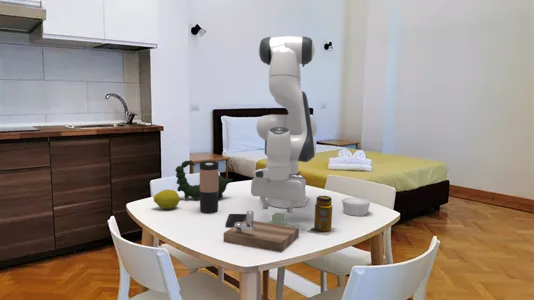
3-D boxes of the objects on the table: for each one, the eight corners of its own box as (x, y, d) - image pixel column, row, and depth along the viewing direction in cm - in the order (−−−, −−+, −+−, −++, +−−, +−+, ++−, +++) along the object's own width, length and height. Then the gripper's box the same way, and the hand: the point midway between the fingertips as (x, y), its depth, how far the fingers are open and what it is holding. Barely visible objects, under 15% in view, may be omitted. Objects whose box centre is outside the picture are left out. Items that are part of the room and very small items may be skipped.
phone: (248, 214, 164) (246, 225, 149) (248, 216, 164) (246, 229, 149) (228, 213, 164) (224, 225, 149) (228, 216, 164) (224, 228, 149)
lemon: (181, 206, 176) (181, 187, 175) (179, 211, 168) (179, 192, 167) (155, 206, 175) (155, 187, 174) (152, 211, 167) (151, 192, 166)
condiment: (335, 228, 150) (336, 196, 149) (326, 235, 143) (328, 201, 141) (316, 225, 154) (317, 193, 152) (307, 232, 146) (308, 198, 145)
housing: (246, 227, 149) (246, 215, 149) (298, 236, 141) (299, 223, 141) (223, 241, 135) (223, 228, 134) (280, 252, 127) (281, 238, 126)
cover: (271, 223, 157) (271, 209, 156) (294, 226, 153) (294, 213, 152) (261, 230, 148) (261, 216, 148) (285, 234, 145) (285, 219, 144)
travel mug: (208, 207, 175) (208, 160, 172) (222, 210, 170) (222, 162, 168) (195, 211, 169) (195, 162, 166) (209, 215, 164) (209, 164, 162)
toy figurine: (178, 206, 182) (235, 199, 186) (173, 163, 180) (231, 158, 183) (179, 200, 192) (233, 194, 195) (175, 160, 189) (230, 155, 193)
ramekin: (341, 208, 178) (342, 196, 177) (368, 210, 176) (369, 198, 175) (341, 216, 167) (342, 203, 166) (370, 218, 165) (371, 205, 164)
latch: (232, 227, 135) (233, 209, 134) (238, 225, 137) (238, 207, 136) (250, 231, 131) (251, 213, 130) (256, 229, 133) (256, 211, 132)
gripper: (308, 174, 147) (307, 212, 150) (256, 168, 156) (256, 204, 158) (303, 177, 142) (301, 217, 144) (249, 171, 150) (248, 209, 152)
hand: (277, 210), depth 151 cm, fingers open, 8 cm apart
